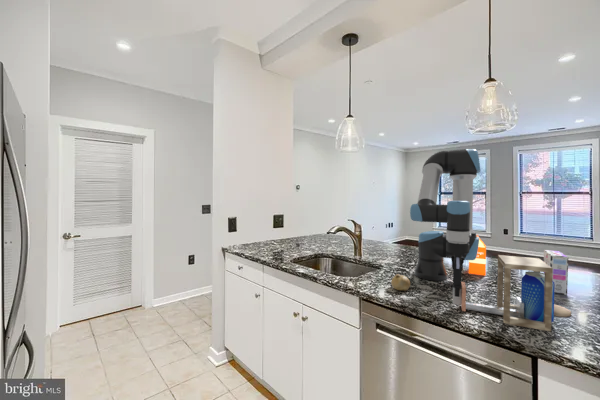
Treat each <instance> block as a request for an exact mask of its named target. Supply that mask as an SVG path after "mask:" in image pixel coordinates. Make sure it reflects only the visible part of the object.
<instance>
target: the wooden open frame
mask: <svg viewBox="0 0 600 400" xmlns="http://www.w3.org/2000/svg"><path fill="white" fill-rule="evenodd" d="M511 270H521V271H527V272H528V271H533V272H541V273H544V272H545V283H544V322H540V321H534V320H527V319H521V318H517V317H511V316H510V309H515V310H516V304H511V275H512V274H511ZM552 276H553V268H552V267H550V266H549V265H548V264H546V263H545V262H544V260H542V259H541V258H539V257H528V256H527V257H525V256H515V255H504V254H497V282H496V283H497V287H496V291H497V294H496V296H497V297H496V307H502V308H504V309H503V315H502V317H503V319H502V322H503V324H506V325H512V326H518V327H524V328H528V329H535V330H540V331H547V332H552V323H551V317H552Z"/></svg>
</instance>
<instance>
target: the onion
mask: <svg viewBox="0 0 600 400" xmlns="http://www.w3.org/2000/svg"><path fill="white" fill-rule="evenodd" d="M410 280H411V279H409V278H408V277H407V276H405V275H404V274H403V275H402V274H399V273H397V274H395V276H393V277H392V279H391V286H392V288H393V289H394V290H397V291H404V292H405V291H408V290H409V289H410V287H411V281H410Z"/></svg>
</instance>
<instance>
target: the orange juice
mask: <svg viewBox="0 0 600 400" xmlns="http://www.w3.org/2000/svg"><path fill="white" fill-rule="evenodd" d="M476 236H478V237H479V246H478V251H477V256H476V259H475V260H468V274H469V275H470V274H471V275H477V276H479V275H480V276H486V273H487V270H486V269H487V267H486V266H487V246H486V244H485V243H484V241H483V240H482V239H481V238H480V236H479V234H476Z"/></svg>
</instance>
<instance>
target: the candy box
mask: <svg viewBox="0 0 600 400" xmlns="http://www.w3.org/2000/svg"><path fill="white" fill-rule="evenodd" d="M543 262H545V263H546V264H548V265H549V266H550V267H552V268H553V276H552V280H553V282H554V284H555V287H554V294H558V295H565V296H567V295H568V282H569V281H568V275H569V256H568V255H566V254H564V253H563V252H561V250H560V251H558V250H550V249H544V250H543ZM543 273H545V272H543Z"/></svg>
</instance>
